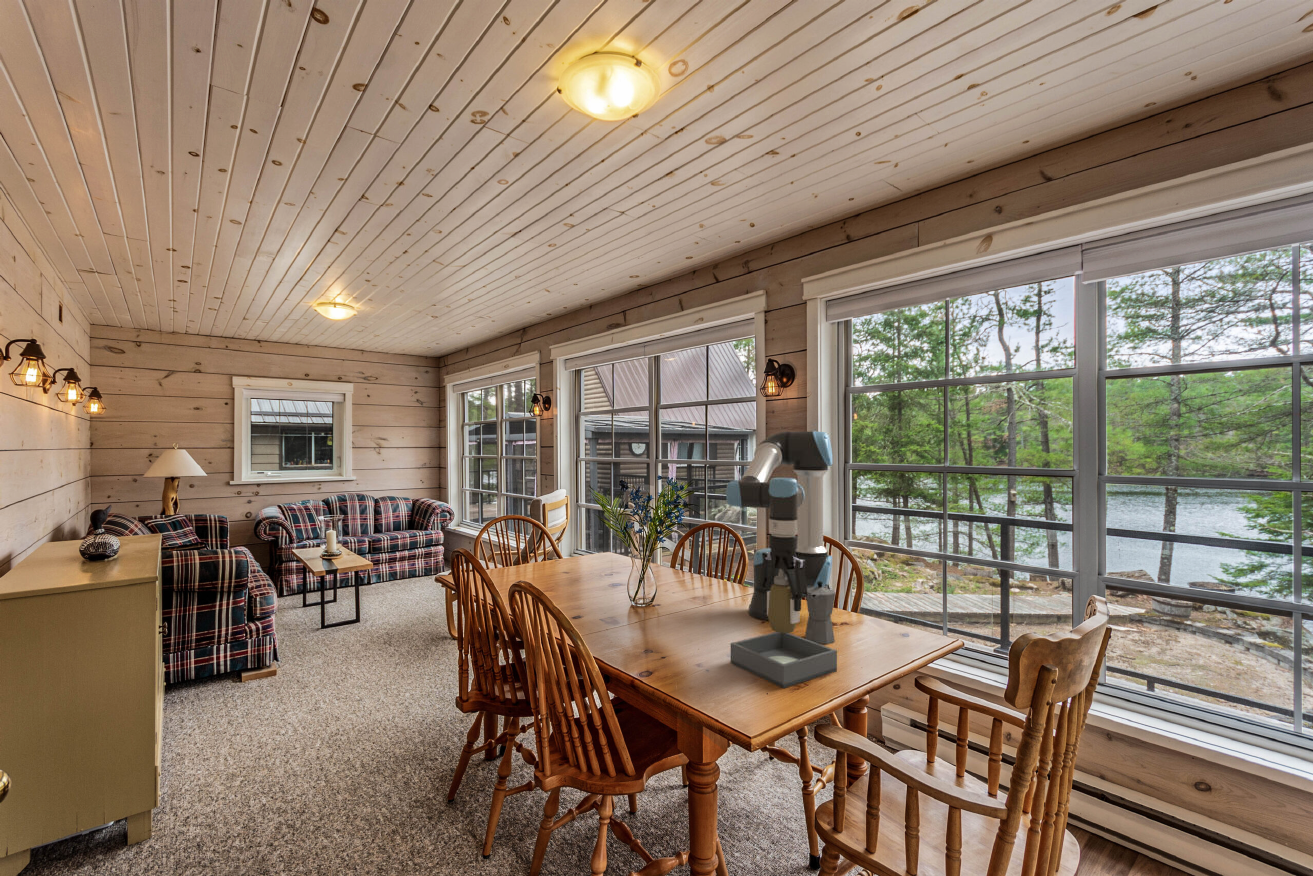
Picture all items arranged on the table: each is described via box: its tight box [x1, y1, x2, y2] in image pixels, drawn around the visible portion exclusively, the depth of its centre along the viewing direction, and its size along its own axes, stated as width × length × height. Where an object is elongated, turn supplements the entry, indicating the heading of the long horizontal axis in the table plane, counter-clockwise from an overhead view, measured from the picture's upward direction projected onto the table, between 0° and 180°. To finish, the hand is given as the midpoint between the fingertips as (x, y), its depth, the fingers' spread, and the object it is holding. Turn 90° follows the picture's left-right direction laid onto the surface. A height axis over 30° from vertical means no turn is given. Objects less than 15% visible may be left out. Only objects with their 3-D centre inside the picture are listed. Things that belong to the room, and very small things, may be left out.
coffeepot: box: [804, 581, 836, 645], centre depth 184 cm, size 15×9×18 cm, turn 147°
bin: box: [730, 631, 838, 689], centre depth 161 cm, size 20×20×6 cm
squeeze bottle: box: [768, 569, 797, 634], centre depth 161 cm, size 8×8×18 cm
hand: (782, 618), depth 161 cm, fingers closed on squeeze bottle, 8 cm apart
